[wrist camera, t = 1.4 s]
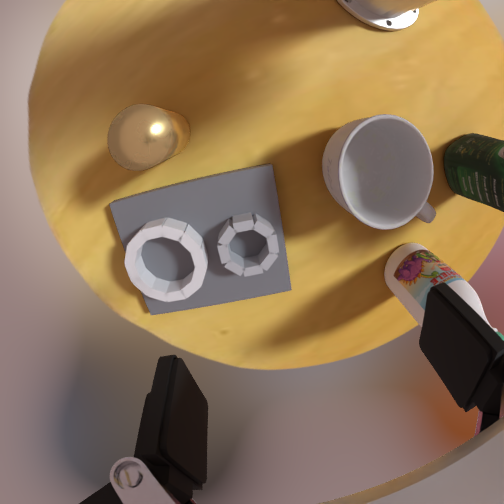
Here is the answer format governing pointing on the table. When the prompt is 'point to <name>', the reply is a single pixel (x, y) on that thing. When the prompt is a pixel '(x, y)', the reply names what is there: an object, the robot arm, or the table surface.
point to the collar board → (205, 240)
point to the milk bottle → (424, 280)
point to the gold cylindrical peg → (146, 136)
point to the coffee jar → (477, 169)
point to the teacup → (380, 171)
